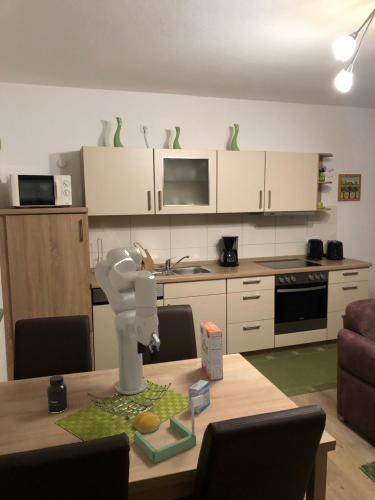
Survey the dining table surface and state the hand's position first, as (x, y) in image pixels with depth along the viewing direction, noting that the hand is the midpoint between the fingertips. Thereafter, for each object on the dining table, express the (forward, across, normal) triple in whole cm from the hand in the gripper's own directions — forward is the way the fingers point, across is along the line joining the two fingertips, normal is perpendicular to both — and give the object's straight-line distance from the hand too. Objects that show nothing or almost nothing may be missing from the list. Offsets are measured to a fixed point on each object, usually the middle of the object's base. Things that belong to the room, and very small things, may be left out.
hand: (147, 357), depth 136 cm
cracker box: (+20, -12, +36) cm, 43 cm away
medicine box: (+20, +8, +16) cm, 27 cm away
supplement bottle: (+20, -20, -27) cm, 39 cm away
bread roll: (+20, +8, -5) cm, 22 cm away
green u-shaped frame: (+20, +20, -3) cm, 28 cm away
